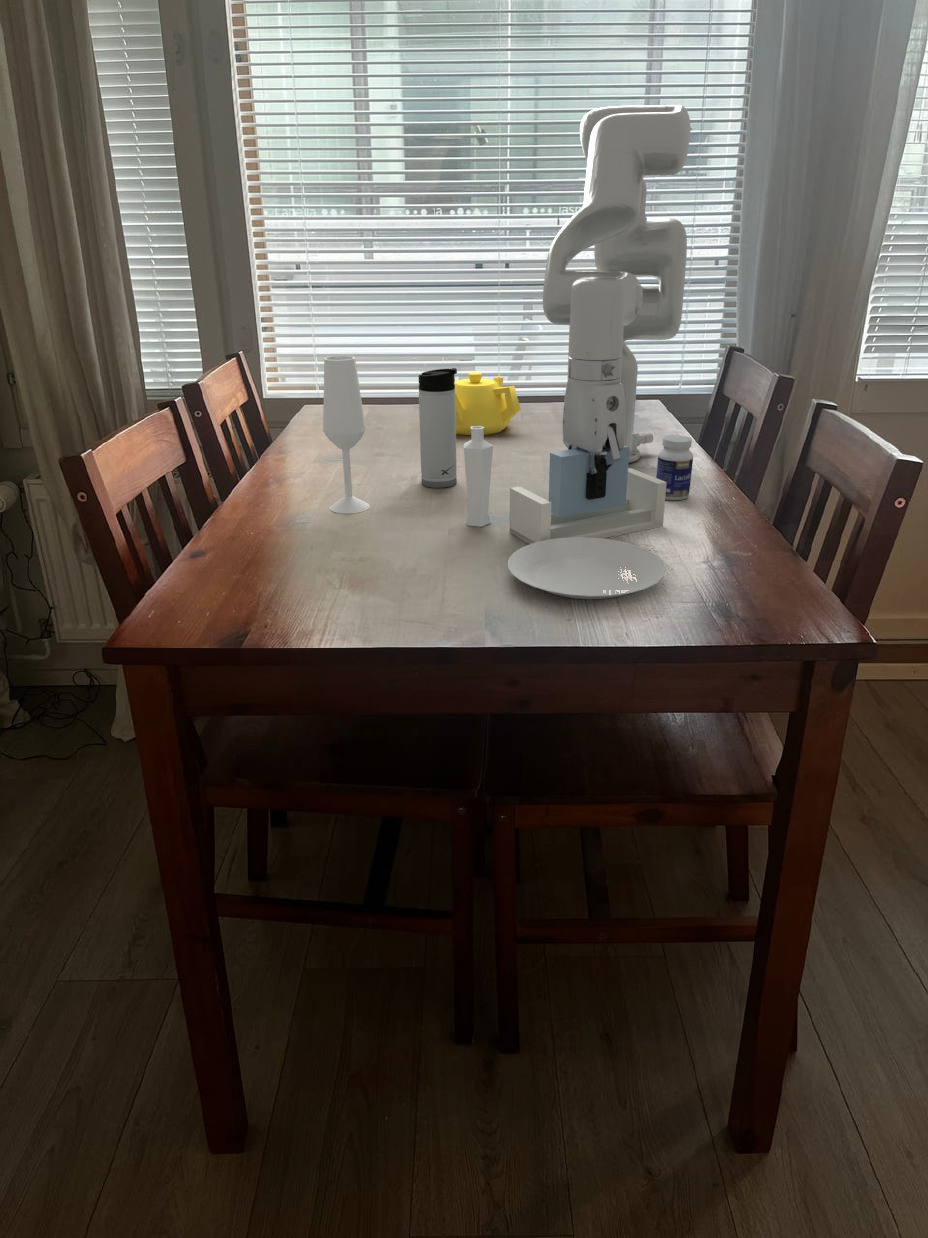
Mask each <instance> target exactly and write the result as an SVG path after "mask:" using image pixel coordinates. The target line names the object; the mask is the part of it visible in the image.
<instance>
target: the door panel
mask: <svg viewBox="0 0 928 1238" xmlns="http://www.w3.org/2000/svg"><path fill="white" fill-rule="evenodd" d="M629 448H630V447H629V446H626V445H624V448H623V450H621V451H619V454H620V460H619V461H618V462H616V463H613V464H612V465H611V466H610V470H609V472H607V478H606V495H605V497H603V498H598V499H592V500H588V499H586V481H587V473H590V456H589V452H588V451H585V450H583V449H580V448H577V449H570V450H568V449H565V450H559V451H551V452H549V477H548V501H549V502H551V513H552V514H554V515H556V516H558V517H563V516H568V515H574V514H579V513H585V512H590V511H595V510H601V509H606V508H612V507H617V506H623V505H626V493H627V478H628V468H629V464H630V463H629ZM602 450H603V448H602ZM600 458H602V456H597V462H598V460H599V459H600Z"/></svg>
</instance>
